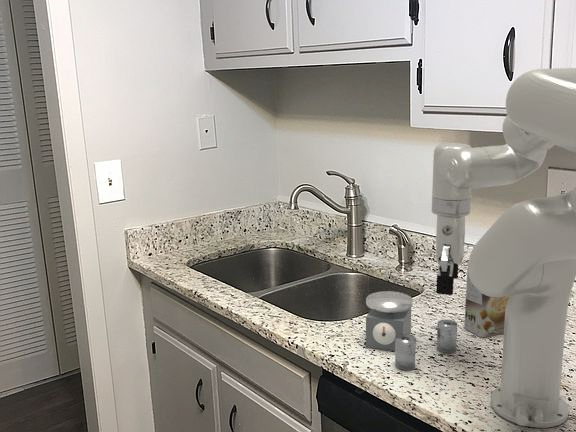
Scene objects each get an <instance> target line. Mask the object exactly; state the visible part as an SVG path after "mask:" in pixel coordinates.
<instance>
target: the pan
mask: <svg viewBox="0 0 576 432" xmlns="http://www.w3.org/2000/svg"><path fill="white" fill-rule="evenodd" d="M413 302H414V301H413V298H412V297H411V296H410V295H408V294H407V293H403V292H400V291H393V290H388V291H385V290H384V291H376V292H373V293H370V294H368V295H367V296H366V298H365V304H366V306H367V307H368V308H369V309H370V310H371V309H373V310H376V311H380V312H387V313H396V312H403V311H406V310H409V309H410V308H411V309H412V307H413V305H414V303H413Z"/></svg>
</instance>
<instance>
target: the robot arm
mask: <svg viewBox="0 0 576 432" xmlns="http://www.w3.org/2000/svg"><path fill="white" fill-rule="evenodd" d="M505 97H506V98H505V110H506V116H505V118H504V120H503V122H502V134H503V138H504V141H505V142H506V143H505V144H503V145H487V146H480V147H479V146H478V147H477V146H476V147H472V146H471V145H469V144H467V143H460V142H445V143H440V144H438V145H436V147H435V148H434V150H433V161H432V162H433V165H432V191H431V192H432V193H431V213H432V214H433V215H435V216H436V228H435V229H436V230H435V232H436V235H435V262H437V264H438V267H437V269H438V270H437V274H436V288H435V289H436V291H435V292H436V294H437V295H446V296H452V295H454V283H455V282H454V281H455V280H456V279H458V277H459V265H461V264H462V262H463V259H464V255H465V237H466V235H465V234H466V232H465V231H466V216H469V215H470V214H471V205H472V204H471V202H472V189H481V188H490V187H499V186H500V187H501V186H507V185H508V186H509V185H511V184H515V183H516V182H519V181H520V180H522V179H524V178H526V177H528V176H529V175H531V174H533V173H534V172H535V171H538V169H540V167H541V166H542V165H543V164H544V161H545V158H546V156H547V152H548V150H550V149H551V148H553V147H554V146H557V147H560V148H563V149H565V150H567V151H570V152H572V153H575V154H576V67H567V68H566V67H564V68H563V67H561V68H559V67H558V68H556V67H555V68H537V69H531V70H528V71H525V72H524V73H522V74H521V75H519V76H518V77H517V78H516V79H515V80H514V81H513V82H512V83H511V85H510V86H509V88H508V91H507V93H506V96H505ZM467 268H468V273H469V278H470V280H471V282H472V284H473V286H474V287H475V288H476V289H477V290H478V291H479V292H481V293H482V294H484V295H486V296H489V297H507V296H510V298H509V300H508V303H507V306H506V311H505V321H504V333H503V340H502V359H501V374H500V375H501V377H500V387H498V388H496V389H495V390H493V391H492V393H491V394H490V405H491V408H492V409H493V411H494V412H496V414H497V415H499V416H500V417H502V419H504V420H507V421H509V422H512V423H514V424H517V425H519V426H521V427H531V428H537V429H543V428H551V427H553V428H554V427H557V426H559V425H562V424H563V423H565V422H566V421H567V419H568V418H569V410H570V409H569V406H568V404H567V402H566V401H565V399H564V398H562V397H561V385H562V384H561V383H562V374H563V360H564V351H565V350H564V348H565V337H566V336H565V335H566V329H567V328H566V327H567V316H568V307H569V303H570V297H571V295H572V289H573V287H574V284H575V280H576V186H575V187H574V188H573V189H571V190H570V191H568V192H565V193H562V194H557V195H553V196H545V197H537V198H530V199H525V200H522V201H519V202H517V203H516V204H513V205H512V206H510V207H509V208H508V209H507V210H505V211H504V212H503V213H502V214H501V215H500V216H499V217H498V219H496V221H495V222H494V223H493V224H492V225H491V226H490V227H489V228H488V230H486V232H485V233H484V234H483V235H482V236H481V238H480V239H479V240H478V241H477V242H476V243H475V245H474V246H473V248H472V249H471V252H470V254H469V257H468V261H467ZM454 279H455V280H454Z"/></svg>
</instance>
